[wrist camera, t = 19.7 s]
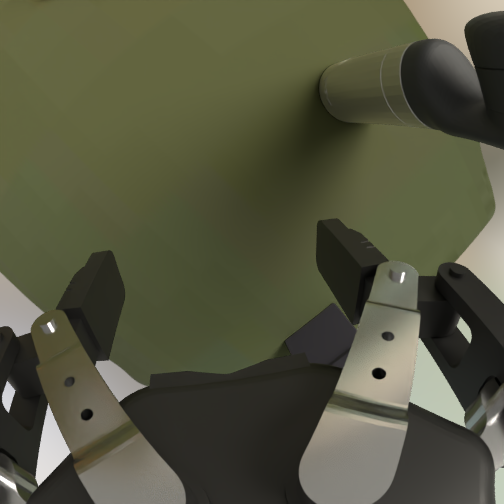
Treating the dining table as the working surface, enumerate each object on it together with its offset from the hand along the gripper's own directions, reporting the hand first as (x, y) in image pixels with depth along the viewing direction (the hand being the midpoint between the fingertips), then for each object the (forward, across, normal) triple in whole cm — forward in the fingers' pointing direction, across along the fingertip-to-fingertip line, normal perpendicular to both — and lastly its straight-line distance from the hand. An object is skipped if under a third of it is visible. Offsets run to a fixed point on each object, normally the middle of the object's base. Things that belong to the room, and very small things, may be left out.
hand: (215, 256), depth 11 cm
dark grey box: (+27, -14, +32) cm, 44 cm away
